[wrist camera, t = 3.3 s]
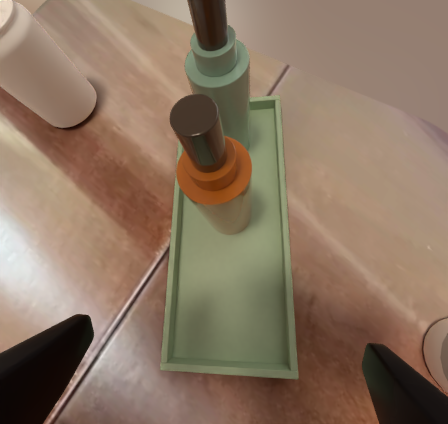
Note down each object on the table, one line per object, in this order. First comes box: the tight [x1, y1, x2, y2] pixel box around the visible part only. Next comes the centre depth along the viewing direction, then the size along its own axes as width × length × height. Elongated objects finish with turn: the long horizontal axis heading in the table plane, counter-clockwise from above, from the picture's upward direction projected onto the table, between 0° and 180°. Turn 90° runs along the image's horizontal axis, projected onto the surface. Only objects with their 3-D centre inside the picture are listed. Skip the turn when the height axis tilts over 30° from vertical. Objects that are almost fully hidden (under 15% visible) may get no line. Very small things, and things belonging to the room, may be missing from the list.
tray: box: [160, 95, 299, 379], centre depth 24 cm, size 29×12×2 cm, turn 179°
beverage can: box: [0, 0, 97, 128], centre depth 27 cm, size 8×8×12 cm
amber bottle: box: [170, 94, 252, 235], centre depth 17 cm, size 5×5×16 cm
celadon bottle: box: [185, 0, 250, 151], centre depth 20 cm, size 5×5×16 cm
